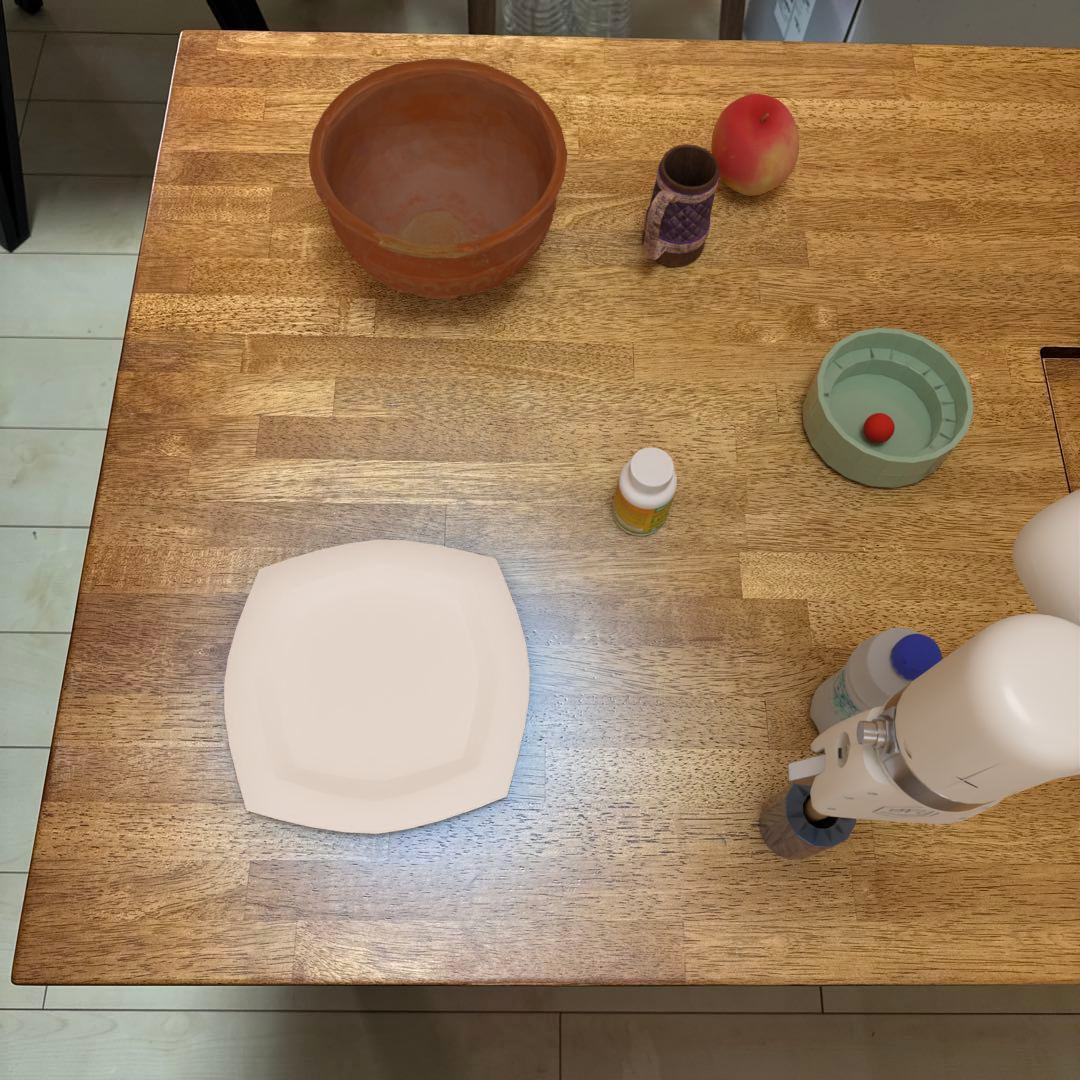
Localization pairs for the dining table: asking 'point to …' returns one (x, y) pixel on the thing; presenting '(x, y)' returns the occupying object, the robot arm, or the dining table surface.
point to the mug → (680, 206)
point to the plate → (376, 687)
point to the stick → (811, 812)
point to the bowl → (439, 174)
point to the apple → (755, 144)
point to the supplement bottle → (645, 492)
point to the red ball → (878, 428)
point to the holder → (799, 826)
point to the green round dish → (887, 406)
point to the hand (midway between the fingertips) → (846, 796)
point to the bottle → (873, 675)
